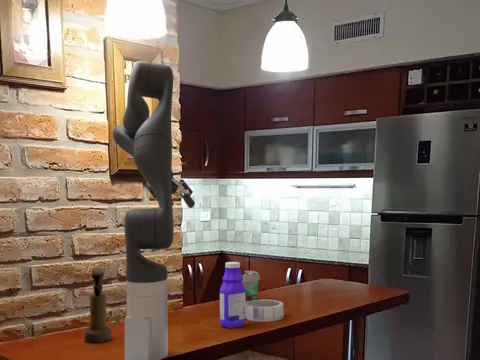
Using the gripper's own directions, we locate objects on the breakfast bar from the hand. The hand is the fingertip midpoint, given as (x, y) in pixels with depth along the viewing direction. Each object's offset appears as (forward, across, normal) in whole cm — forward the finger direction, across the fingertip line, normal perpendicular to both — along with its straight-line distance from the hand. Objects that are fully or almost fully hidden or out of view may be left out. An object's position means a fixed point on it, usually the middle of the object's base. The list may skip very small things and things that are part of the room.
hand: (182, 206), depth 146 cm
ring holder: (+34, +19, +13) cm, 41 cm away
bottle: (+33, +6, +14) cm, 36 cm away
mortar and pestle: (+20, -25, +28) cm, 42 cm away
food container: (+23, +32, +23) cm, 46 cm away
